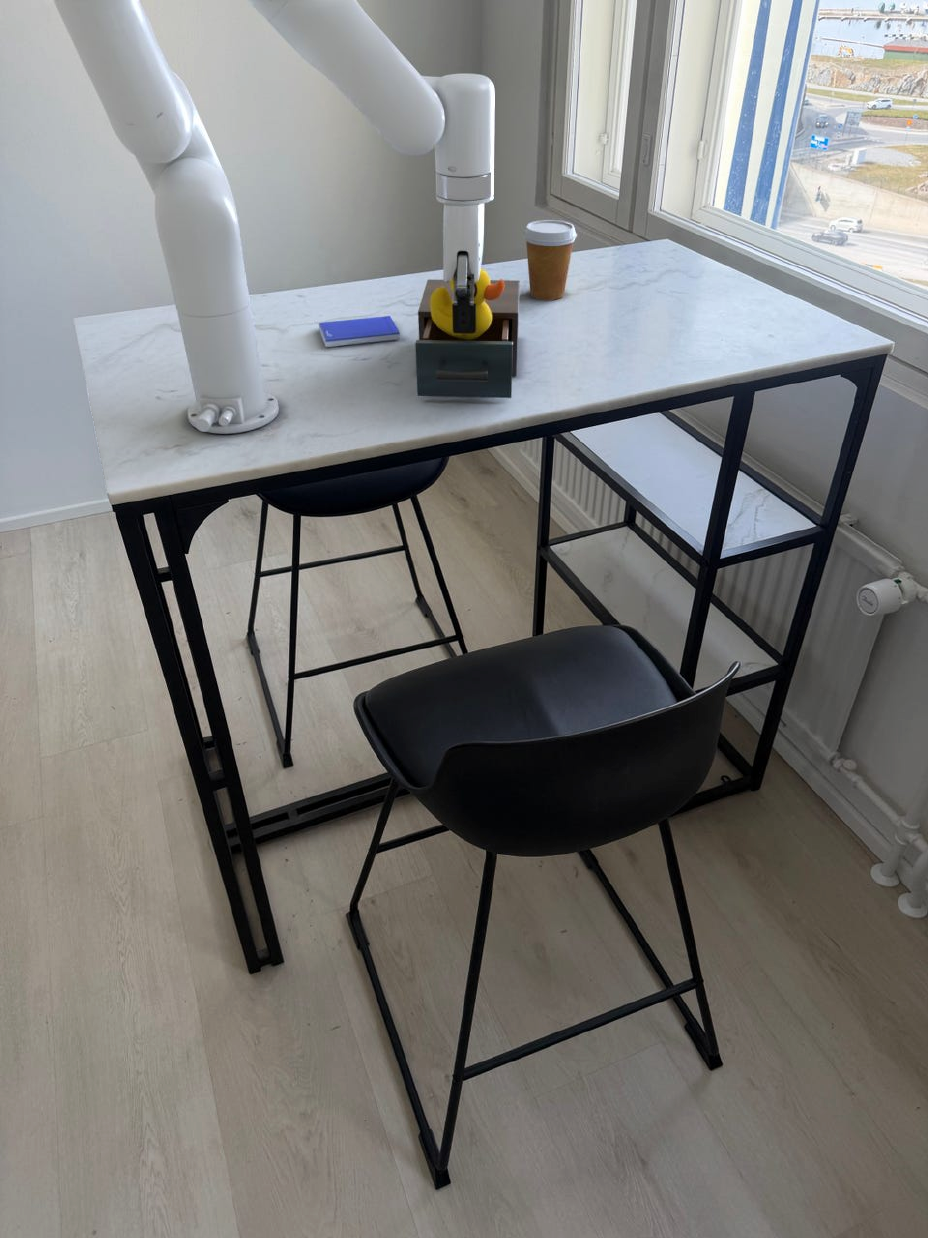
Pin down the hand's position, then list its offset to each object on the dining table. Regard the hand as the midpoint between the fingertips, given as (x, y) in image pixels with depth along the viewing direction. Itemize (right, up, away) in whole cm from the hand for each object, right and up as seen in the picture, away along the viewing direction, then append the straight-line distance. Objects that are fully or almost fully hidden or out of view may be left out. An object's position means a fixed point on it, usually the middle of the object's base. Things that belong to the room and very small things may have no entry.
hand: (465, 322), depth 124 cm
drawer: (0, -8, +5) cm, 9 cm away
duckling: (0, -2, +1) cm, 2 cm away
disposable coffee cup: (+15, +18, +38) cm, 45 cm away
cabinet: (+1, 0, +15) cm, 15 cm away
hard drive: (-18, +5, +23) cm, 30 cm away
